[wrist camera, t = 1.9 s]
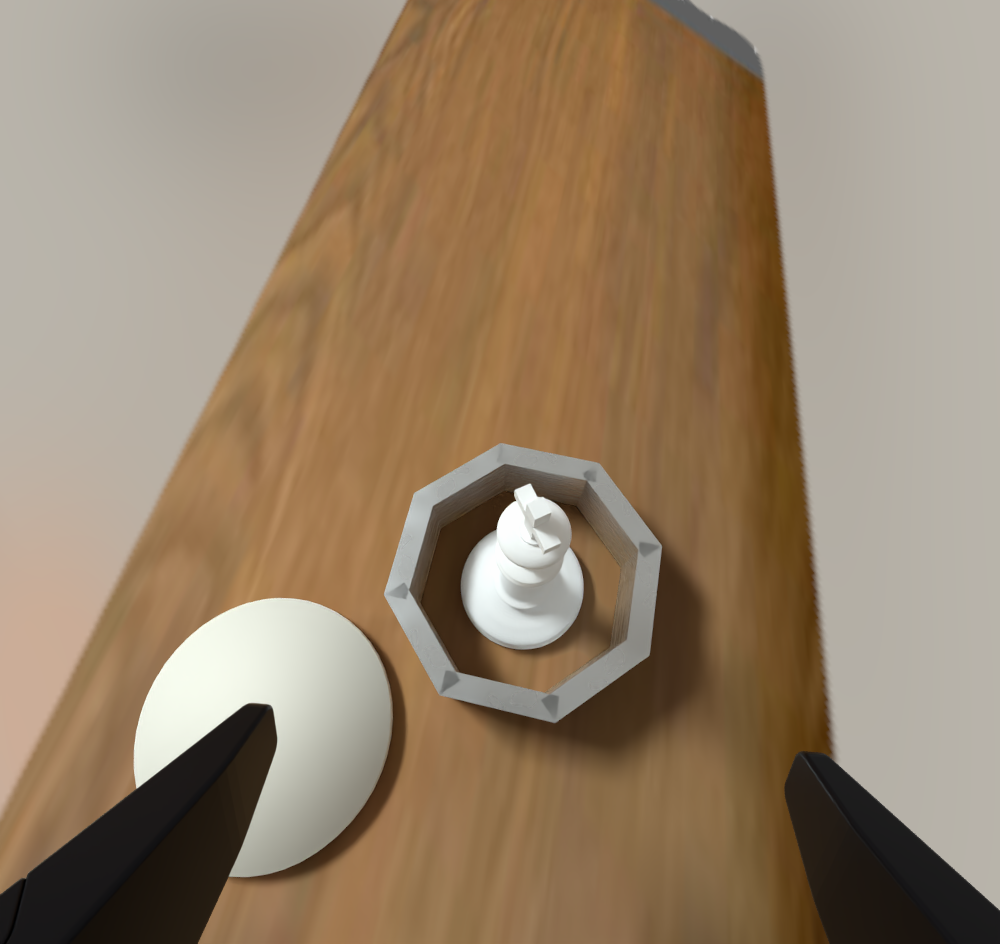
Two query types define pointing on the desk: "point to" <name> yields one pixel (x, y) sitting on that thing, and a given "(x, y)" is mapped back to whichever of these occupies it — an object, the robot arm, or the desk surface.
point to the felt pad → (280, 719)
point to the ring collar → (556, 483)
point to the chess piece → (524, 576)
